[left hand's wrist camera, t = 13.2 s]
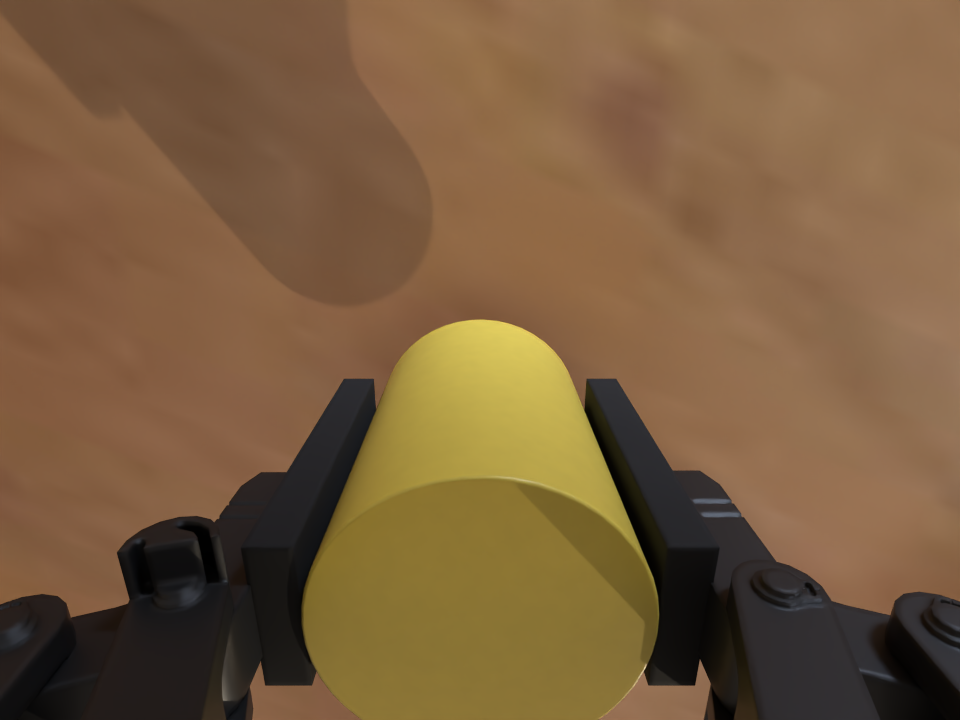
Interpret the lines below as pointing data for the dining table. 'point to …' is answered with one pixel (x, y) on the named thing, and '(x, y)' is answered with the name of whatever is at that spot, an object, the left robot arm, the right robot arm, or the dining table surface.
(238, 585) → the left robot arm
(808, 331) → the dining table surface
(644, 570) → the canister
